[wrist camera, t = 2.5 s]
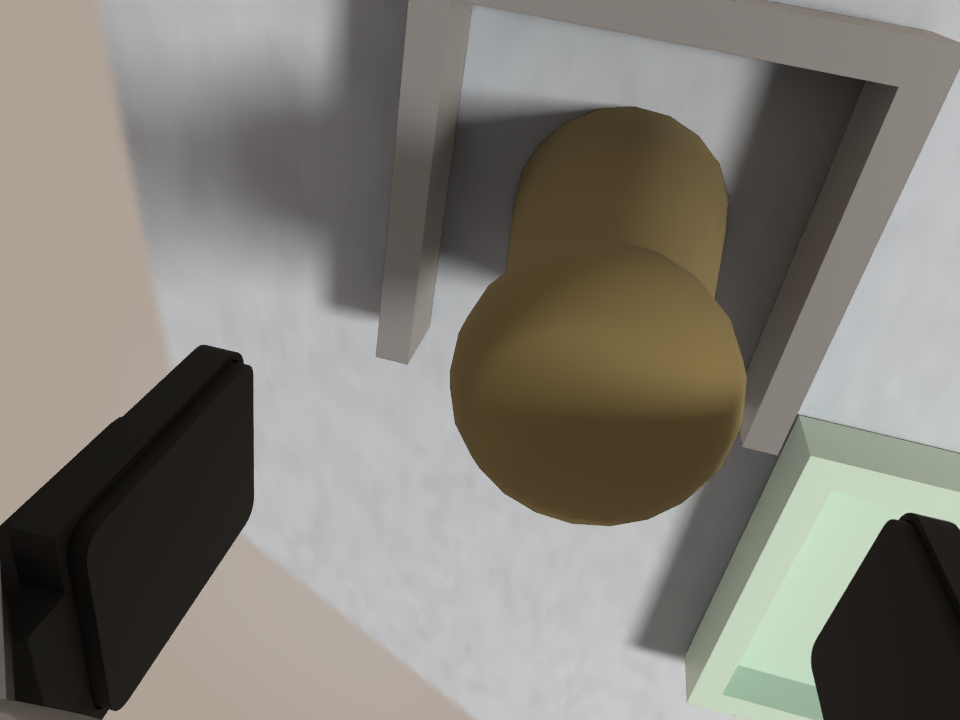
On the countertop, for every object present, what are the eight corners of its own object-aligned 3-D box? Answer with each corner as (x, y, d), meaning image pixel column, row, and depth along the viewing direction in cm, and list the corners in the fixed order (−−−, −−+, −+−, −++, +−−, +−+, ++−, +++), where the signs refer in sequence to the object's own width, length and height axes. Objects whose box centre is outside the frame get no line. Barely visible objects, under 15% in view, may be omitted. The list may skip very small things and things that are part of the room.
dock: (932, 32, 17) (969, 46, 15) (767, 407, 23) (777, 455, 21) (441, -60, 19) (413, -59, 17) (400, 319, 24) (375, 356, 22)
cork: (616, 56, 19) (576, 180, 10) (777, 211, 20) (876, 454, 11) (472, 219, 22) (337, 431, 13) (618, 347, 23) (591, 626, 14)
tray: (1207, 512, 22) (1255, 564, 20) (997, 742, 28) (1020, 796, 27) (798, 415, 23) (810, 455, 21) (685, 655, 30) (686, 702, 28)
